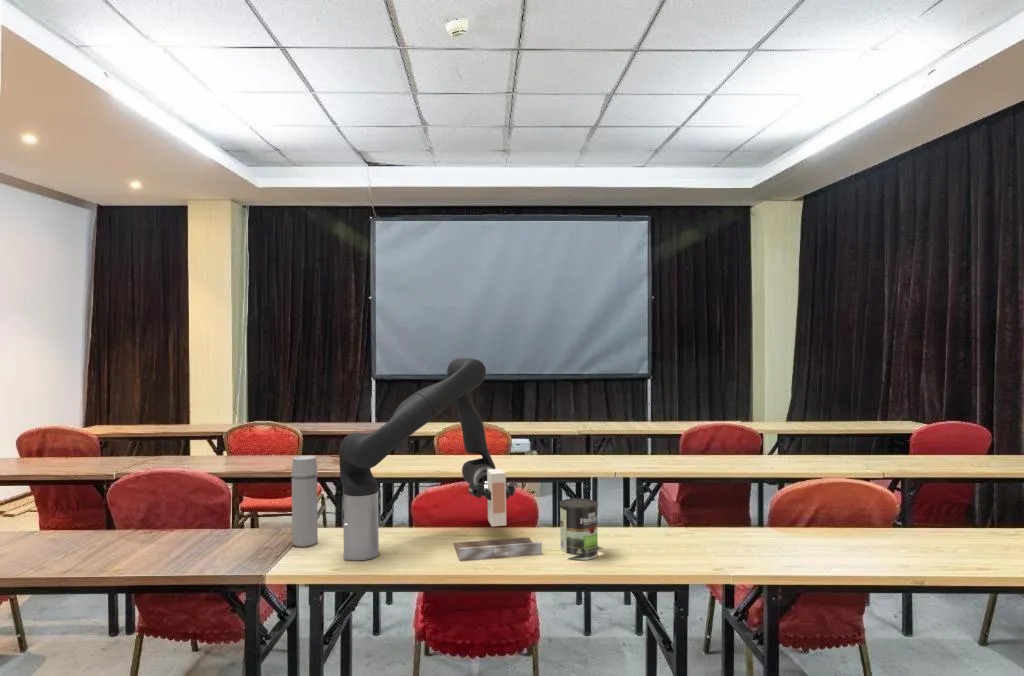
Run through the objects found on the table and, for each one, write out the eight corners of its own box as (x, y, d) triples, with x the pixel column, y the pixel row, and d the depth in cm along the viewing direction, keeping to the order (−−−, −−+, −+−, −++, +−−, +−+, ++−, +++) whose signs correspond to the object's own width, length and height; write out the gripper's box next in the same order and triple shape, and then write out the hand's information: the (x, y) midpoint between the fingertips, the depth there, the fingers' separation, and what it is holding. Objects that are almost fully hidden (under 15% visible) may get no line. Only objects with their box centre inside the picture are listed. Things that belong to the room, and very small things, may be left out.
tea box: (491, 526, 174) (490, 474, 174) (487, 520, 180) (487, 469, 180) (506, 525, 174) (505, 473, 174) (502, 519, 181) (501, 468, 180)
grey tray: (459, 567, 169) (459, 549, 169) (452, 548, 184) (452, 532, 184) (542, 560, 173) (541, 543, 173) (528, 542, 188) (528, 526, 188)
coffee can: (606, 554, 177) (605, 502, 177) (579, 563, 170) (578, 509, 170) (578, 545, 185) (578, 496, 185) (552, 553, 178) (551, 502, 178)
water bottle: (314, 548, 185) (313, 460, 185) (287, 548, 185) (286, 460, 185) (324, 538, 194) (323, 454, 194) (298, 538, 194) (297, 454, 194)
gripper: (463, 470, 190) (472, 483, 173) (511, 467, 193) (524, 480, 176) (463, 496, 190) (472, 511, 173) (511, 492, 193) (524, 508, 176)
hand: (498, 495), depth 174 cm, fingers closed on tea box, 4 cm apart
